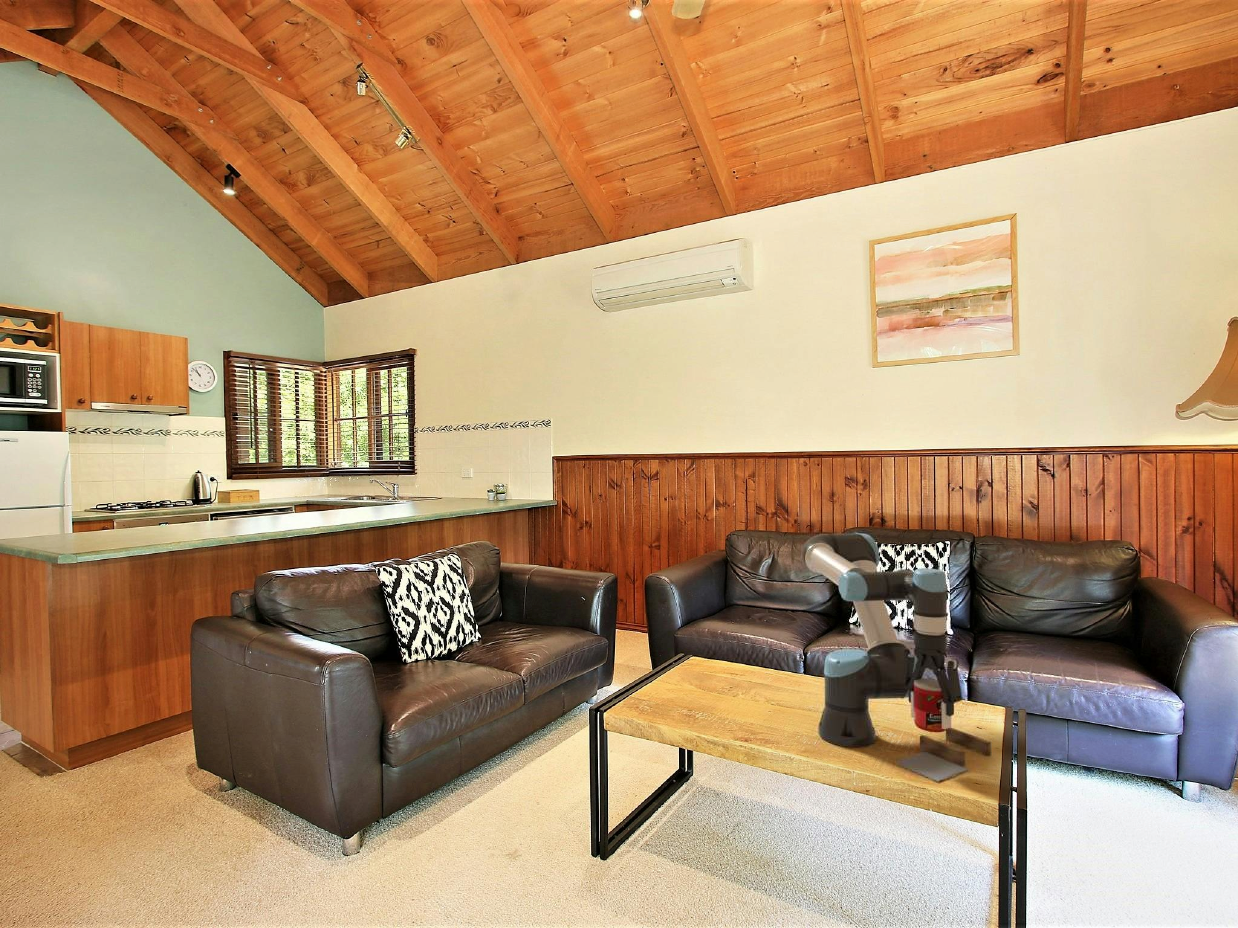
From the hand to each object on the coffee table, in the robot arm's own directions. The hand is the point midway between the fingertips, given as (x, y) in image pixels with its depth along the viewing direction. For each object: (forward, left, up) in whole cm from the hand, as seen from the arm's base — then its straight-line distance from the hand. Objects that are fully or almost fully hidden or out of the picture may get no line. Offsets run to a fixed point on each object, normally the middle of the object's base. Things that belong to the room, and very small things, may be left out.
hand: (930, 721), depth 170 cm
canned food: (0, 0, -1) cm, 1 cm away
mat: (0, 0, -11) cm, 11 cm away
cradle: (-2, +13, -11) cm, 18 cm away
